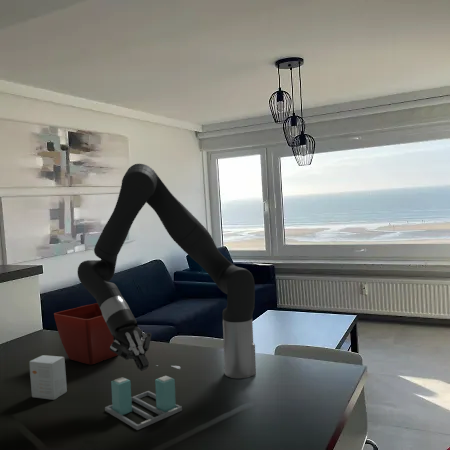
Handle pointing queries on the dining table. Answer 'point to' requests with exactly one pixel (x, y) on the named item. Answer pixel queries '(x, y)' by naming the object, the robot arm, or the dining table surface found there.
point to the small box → (48, 377)
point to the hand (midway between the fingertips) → (144, 368)
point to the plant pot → (85, 334)
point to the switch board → (142, 413)
